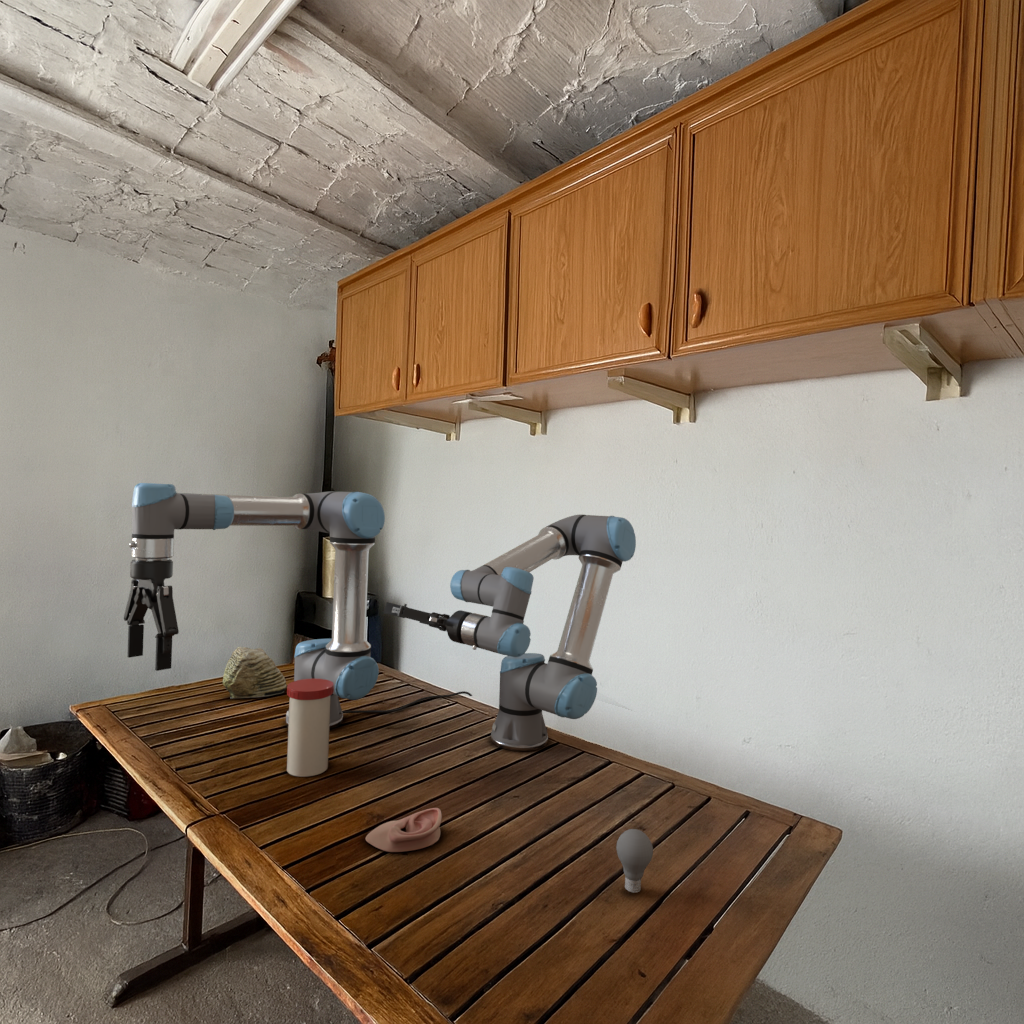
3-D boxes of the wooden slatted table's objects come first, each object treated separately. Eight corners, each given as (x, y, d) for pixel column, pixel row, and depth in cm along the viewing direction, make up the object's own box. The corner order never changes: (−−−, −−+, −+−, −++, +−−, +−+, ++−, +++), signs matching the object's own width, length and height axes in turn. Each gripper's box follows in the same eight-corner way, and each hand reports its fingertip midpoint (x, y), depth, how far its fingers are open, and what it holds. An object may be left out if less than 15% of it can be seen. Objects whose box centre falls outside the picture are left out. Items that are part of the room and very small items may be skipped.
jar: (287, 761, 150) (290, 681, 150) (327, 758, 153) (330, 680, 153) (286, 778, 142) (289, 693, 141) (328, 774, 144) (331, 691, 144)
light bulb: (610, 879, 108) (613, 822, 108) (644, 879, 109) (647, 822, 109) (619, 902, 102) (622, 840, 102) (655, 901, 103) (658, 840, 103)
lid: (287, 687, 150) (287, 679, 150) (332, 685, 154) (332, 677, 153) (286, 701, 140) (286, 692, 140) (334, 698, 144) (334, 690, 144)
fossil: (218, 695, 195) (220, 647, 195) (278, 685, 208) (279, 640, 207) (228, 703, 189) (230, 653, 188) (289, 692, 201) (290, 645, 201)
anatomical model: (358, 825, 115) (384, 797, 126) (357, 847, 115) (383, 816, 126) (428, 836, 112) (447, 806, 123) (427, 858, 112) (447, 826, 123)
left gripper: (108, 554, 134) (104, 654, 134) (159, 565, 118) (155, 678, 119) (146, 552, 140) (143, 648, 140) (199, 563, 124) (195, 671, 124)
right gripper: (431, 636, 138) (365, 618, 150) (494, 651, 157) (431, 635, 170) (440, 602, 139) (374, 587, 152) (501, 622, 159) (438, 607, 171)
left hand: (148, 662), depth 129 cm, fingers open, 13 cm apart
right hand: (404, 612), depth 161 cm, fingers open, 13 cm apart
